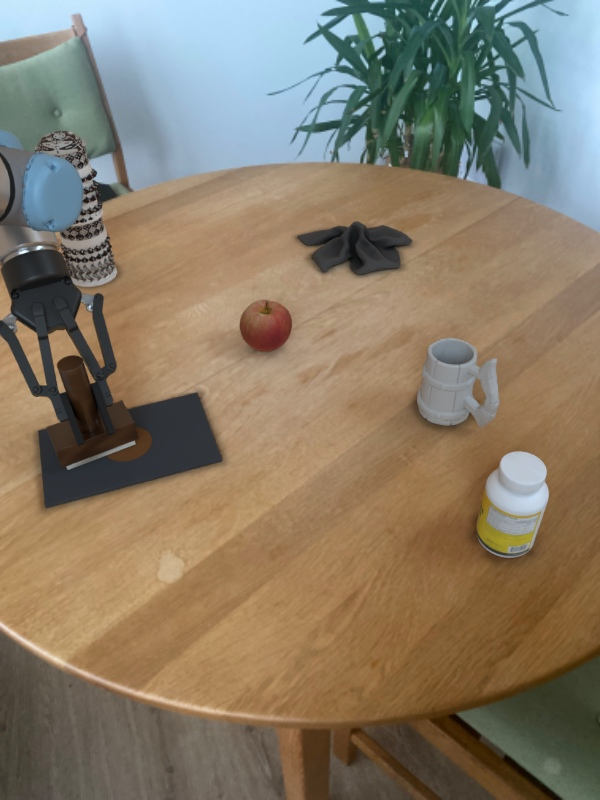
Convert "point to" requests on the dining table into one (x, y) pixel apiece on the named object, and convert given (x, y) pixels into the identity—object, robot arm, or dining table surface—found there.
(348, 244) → the cloth
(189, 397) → the stain mat
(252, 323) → the apple
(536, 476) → the pill bottle
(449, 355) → the mug
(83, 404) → the scrub brush
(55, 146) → the decorative candle
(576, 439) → the dining table surface
